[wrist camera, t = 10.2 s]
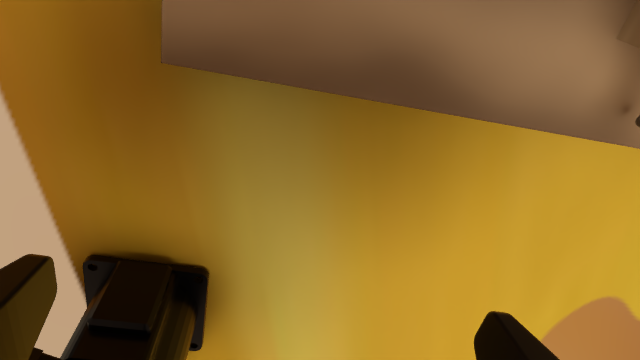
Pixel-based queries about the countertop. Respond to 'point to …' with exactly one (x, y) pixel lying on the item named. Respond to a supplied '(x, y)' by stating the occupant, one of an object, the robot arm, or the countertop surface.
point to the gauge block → (632, 33)
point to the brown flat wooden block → (430, 56)
